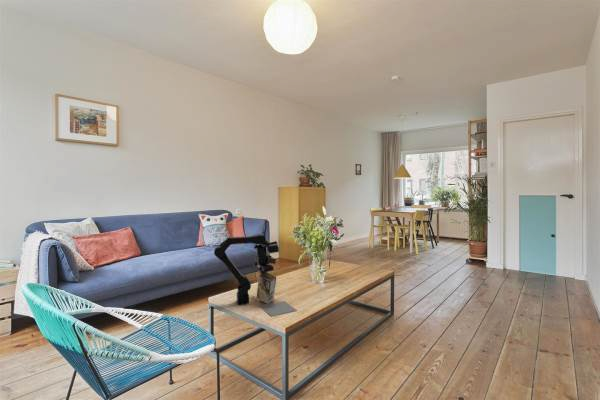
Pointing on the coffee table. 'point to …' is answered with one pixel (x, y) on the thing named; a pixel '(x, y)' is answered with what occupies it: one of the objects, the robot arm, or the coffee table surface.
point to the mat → (278, 308)
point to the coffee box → (266, 287)
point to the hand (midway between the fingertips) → (264, 279)
